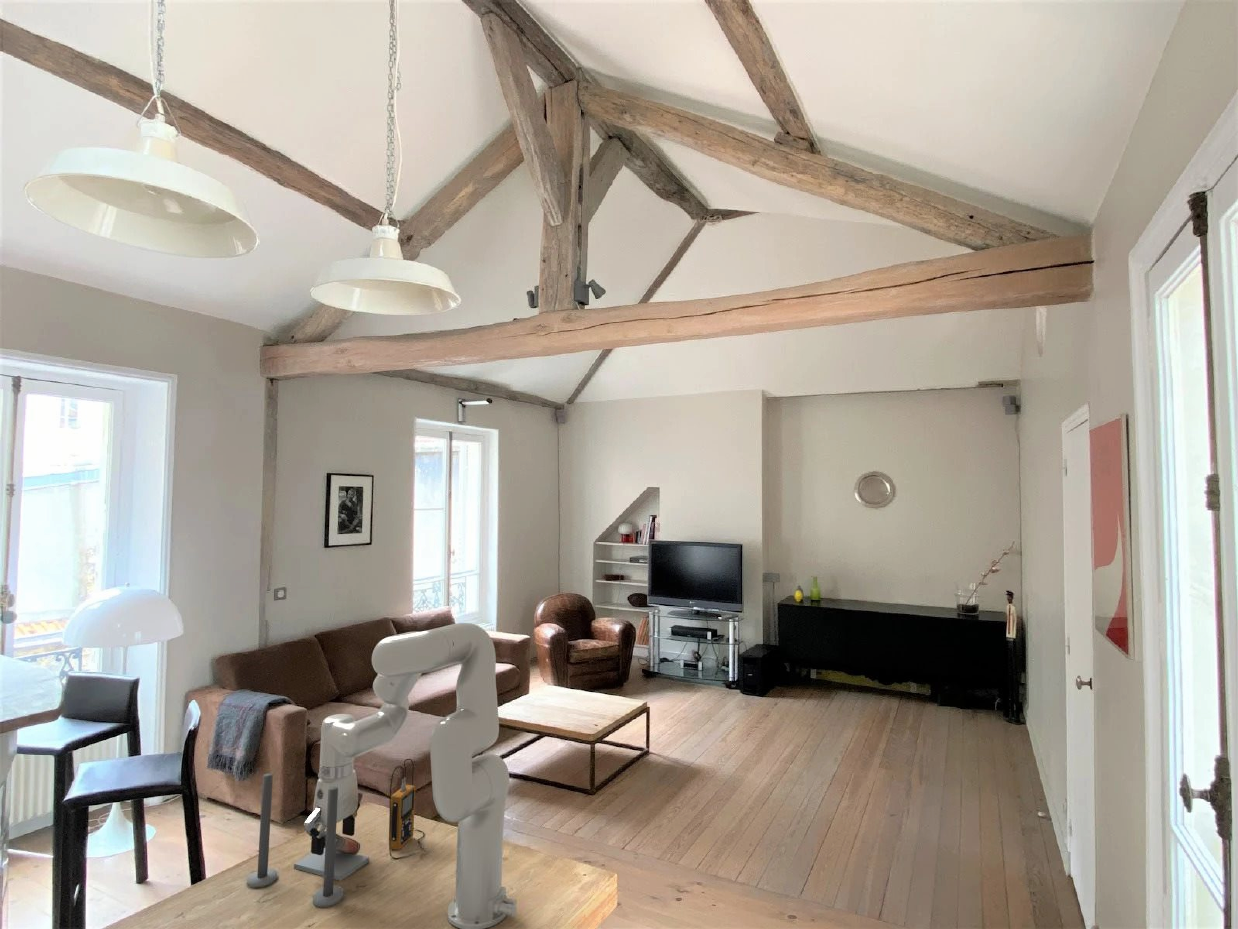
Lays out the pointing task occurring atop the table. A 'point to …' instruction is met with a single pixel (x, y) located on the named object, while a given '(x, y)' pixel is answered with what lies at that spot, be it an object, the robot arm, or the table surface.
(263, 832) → the far cord post
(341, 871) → the mat
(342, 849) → the lighter
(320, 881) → the table surface
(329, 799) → the post
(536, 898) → the table surface
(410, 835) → the multimeter
